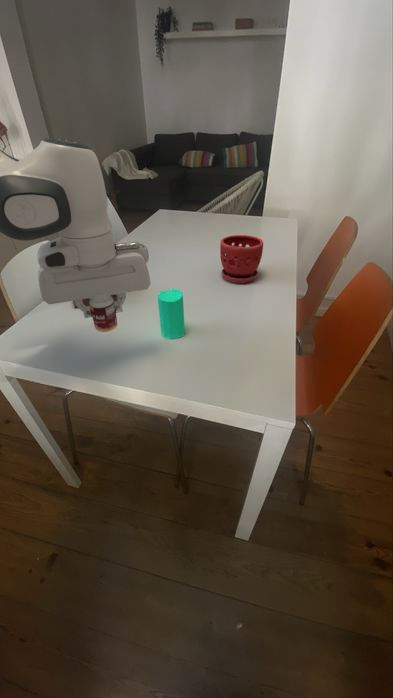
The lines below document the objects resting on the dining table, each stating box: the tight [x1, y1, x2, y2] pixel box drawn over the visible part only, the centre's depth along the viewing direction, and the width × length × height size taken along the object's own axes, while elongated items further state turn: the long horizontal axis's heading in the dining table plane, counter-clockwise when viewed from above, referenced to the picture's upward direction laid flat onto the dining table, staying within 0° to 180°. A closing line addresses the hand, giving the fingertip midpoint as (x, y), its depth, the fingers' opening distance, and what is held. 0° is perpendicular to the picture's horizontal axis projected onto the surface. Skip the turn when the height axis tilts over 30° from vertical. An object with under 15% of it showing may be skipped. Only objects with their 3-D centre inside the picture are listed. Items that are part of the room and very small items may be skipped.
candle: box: [157, 288, 186, 340], centre depth 76 cm, size 6×6×12 cm
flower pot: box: [219, 234, 264, 284], centre depth 100 cm, size 13×13×12 cm
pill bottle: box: [89, 294, 119, 333], centre depth 64 cm, size 5×5×8 cm
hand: (103, 313), depth 65 cm, fingers closed on pill bottle, 5 cm apart
